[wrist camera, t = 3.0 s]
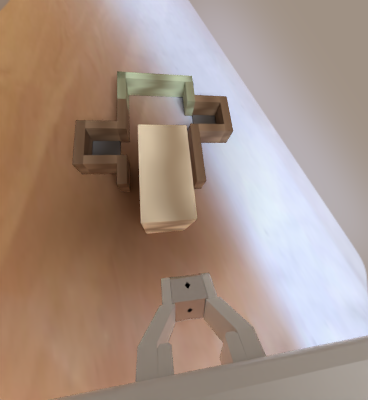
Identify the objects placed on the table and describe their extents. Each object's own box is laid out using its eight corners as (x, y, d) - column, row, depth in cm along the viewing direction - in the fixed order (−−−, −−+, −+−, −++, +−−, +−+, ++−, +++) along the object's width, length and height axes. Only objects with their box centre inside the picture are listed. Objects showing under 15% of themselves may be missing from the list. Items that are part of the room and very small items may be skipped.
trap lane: (80, 193, 24) (70, 185, 21) (87, 87, 29) (79, 69, 26) (233, 187, 28) (242, 179, 25) (217, 93, 33) (222, 77, 30)
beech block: (146, 233, 24) (140, 223, 16) (143, 165, 27) (137, 124, 18) (183, 230, 25) (197, 219, 16) (177, 164, 28) (186, 125, 19)
